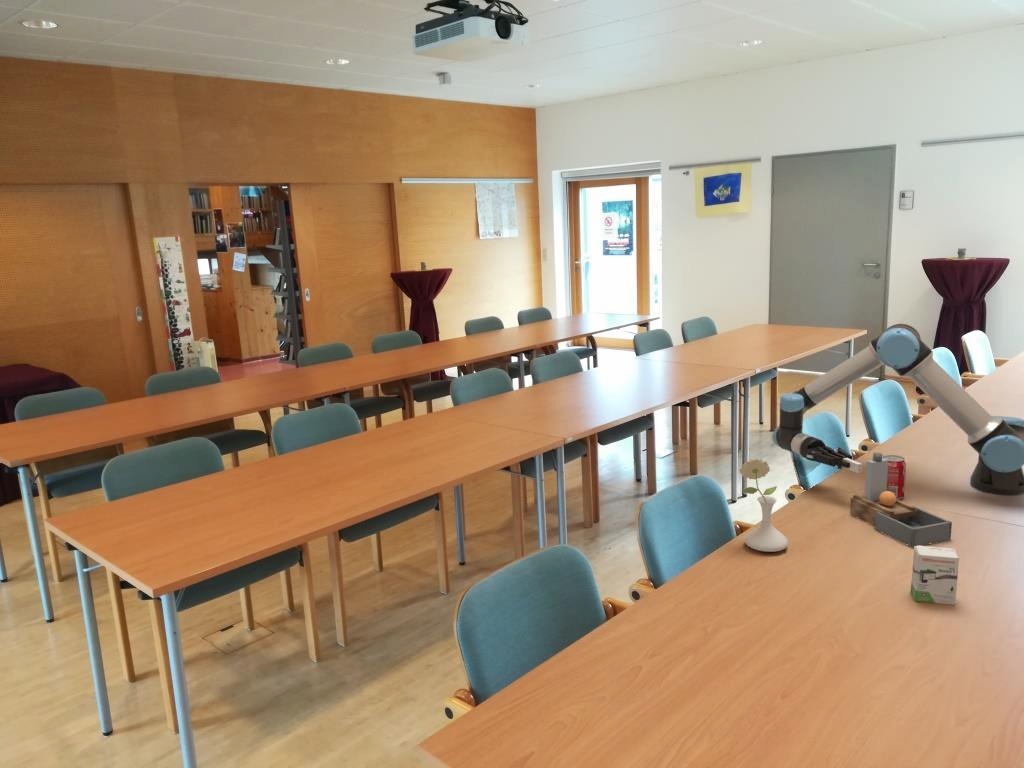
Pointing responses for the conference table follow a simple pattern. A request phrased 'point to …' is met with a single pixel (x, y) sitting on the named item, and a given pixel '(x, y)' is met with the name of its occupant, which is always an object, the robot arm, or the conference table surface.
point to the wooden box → (879, 509)
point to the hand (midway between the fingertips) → (859, 468)
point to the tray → (915, 528)
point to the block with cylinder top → (876, 477)
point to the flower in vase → (765, 534)
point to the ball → (887, 498)
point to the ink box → (934, 575)
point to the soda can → (896, 475)
